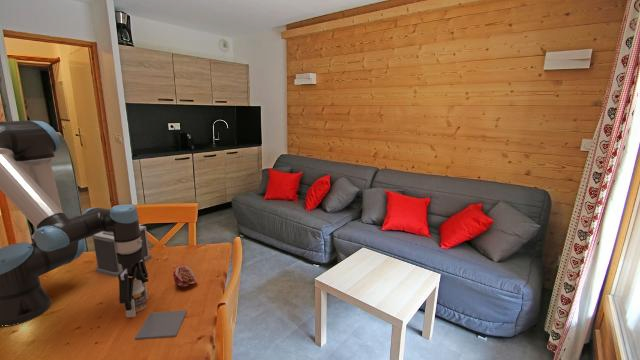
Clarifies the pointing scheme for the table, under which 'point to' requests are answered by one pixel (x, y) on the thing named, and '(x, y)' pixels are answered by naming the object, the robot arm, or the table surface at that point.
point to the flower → (183, 276)
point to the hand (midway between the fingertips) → (137, 307)
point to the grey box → (114, 252)
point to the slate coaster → (161, 325)
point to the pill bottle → (138, 295)
